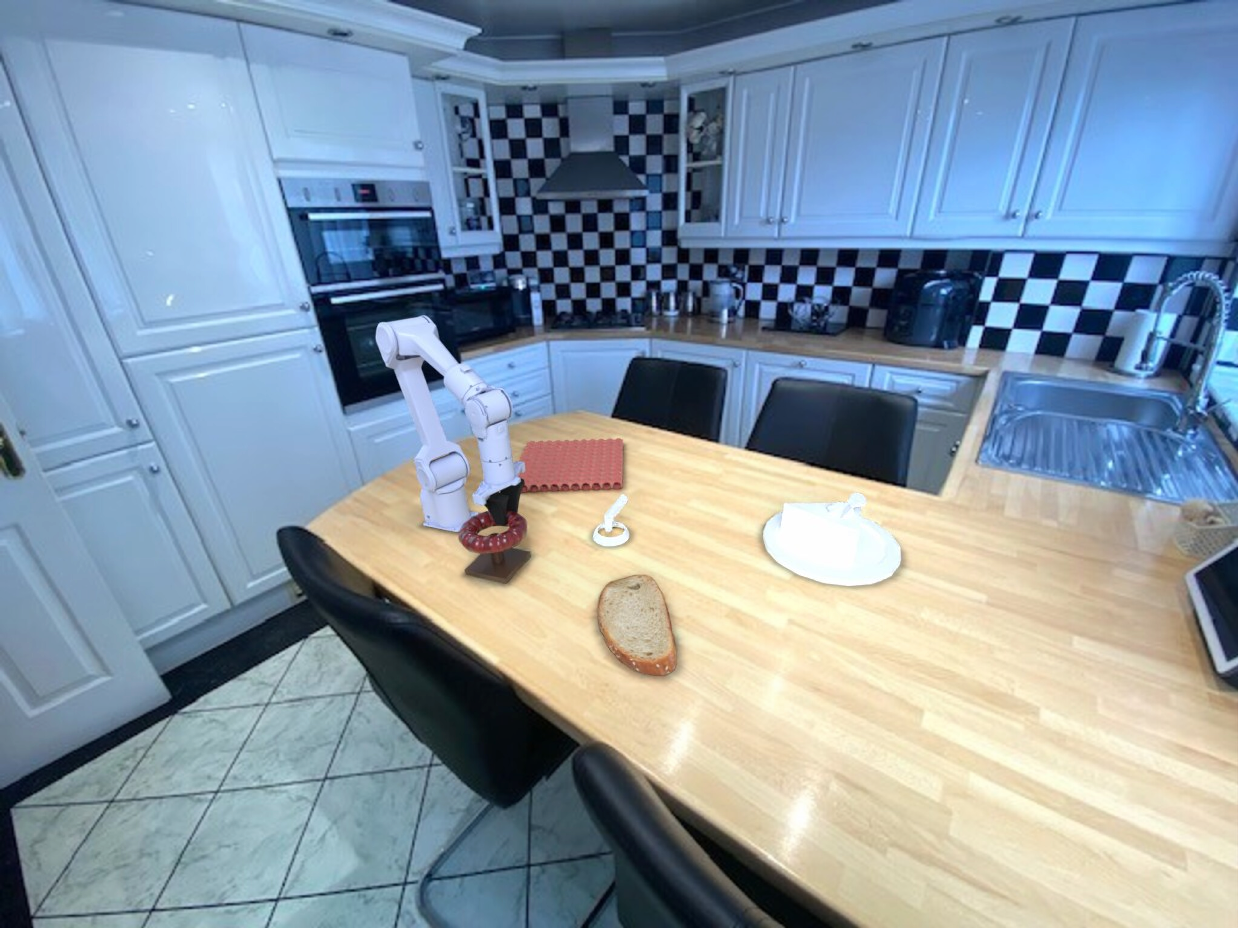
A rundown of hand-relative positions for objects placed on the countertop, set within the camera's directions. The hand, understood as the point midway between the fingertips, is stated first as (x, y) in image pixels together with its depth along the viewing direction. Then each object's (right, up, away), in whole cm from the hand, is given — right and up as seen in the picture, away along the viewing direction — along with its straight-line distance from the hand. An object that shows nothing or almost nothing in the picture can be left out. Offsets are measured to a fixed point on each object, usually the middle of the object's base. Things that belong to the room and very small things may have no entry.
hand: (506, 519), depth 98 cm
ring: (-2, -2, -4) cm, 5 cm away
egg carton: (+9, +10, +38) cm, 41 cm away
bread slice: (+25, -15, -16) cm, 34 cm away
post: (-1, -9, -1) cm, 9 cm away
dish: (+63, -5, +1) cm, 63 cm away
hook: (+20, -4, +7) cm, 22 cm away
